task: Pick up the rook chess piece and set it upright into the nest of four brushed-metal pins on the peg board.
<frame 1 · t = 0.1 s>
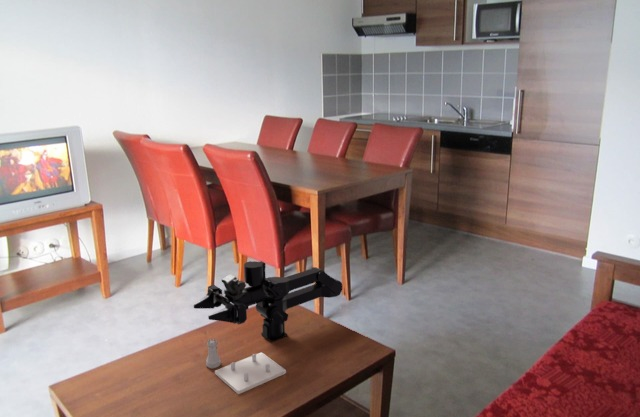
hand: (201, 312, 159), 17 cm above the table, fingers open, 9 cm apart
rook chess piece: (213, 365, 162), on the table
peg board: (250, 373, 157), on the table
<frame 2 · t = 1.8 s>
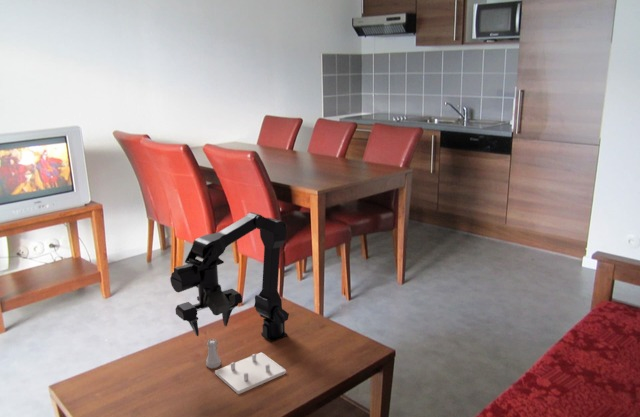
hand: (211, 330, 159), 11 cm above the table, fingers open, 9 cm apart
nothing on the table moved.
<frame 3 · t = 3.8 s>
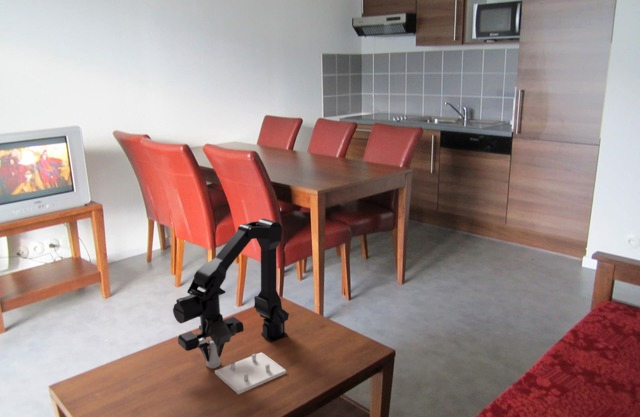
hand: (213, 358, 161), 2 cm above the table, fingers closed on rook chess piece, 3 cm apart
rook chess piece: (213, 365, 162), on the table, touching gripper
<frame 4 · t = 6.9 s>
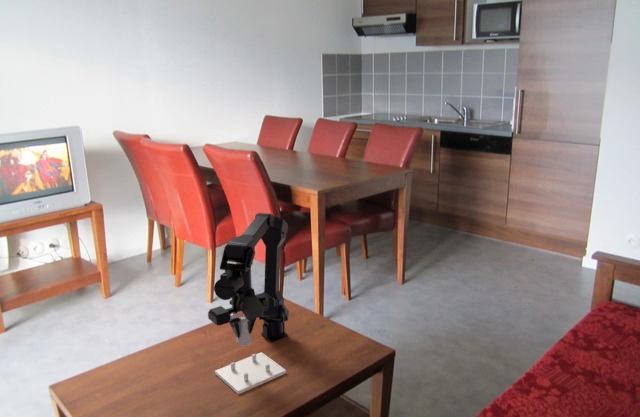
hand: (243, 335, 154), 12 cm above the table, fingers closed on rook chess piece, 3 cm apart
rook chess piece: (244, 342, 155), point 10 cm above the table, touching gripper
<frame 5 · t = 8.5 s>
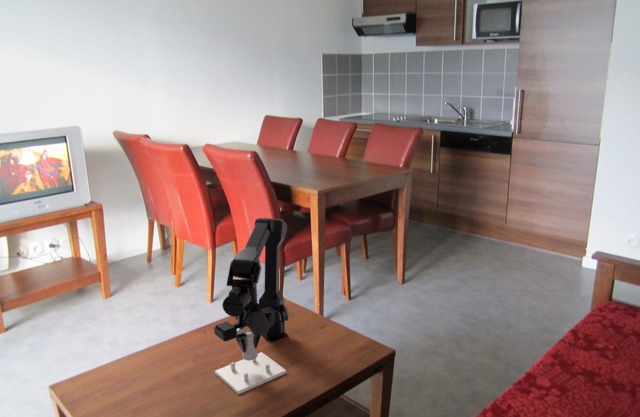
hand: (249, 349, 155), 8 cm above the table, fingers closed on rook chess piece, 3 cm apart
rook chess piece: (250, 357, 156), point 5 cm above the table, touching gripper
when the fingers open (4 cm above the table, at t = 10.0 s): rook chess piece stays where it is, resting on peg board.
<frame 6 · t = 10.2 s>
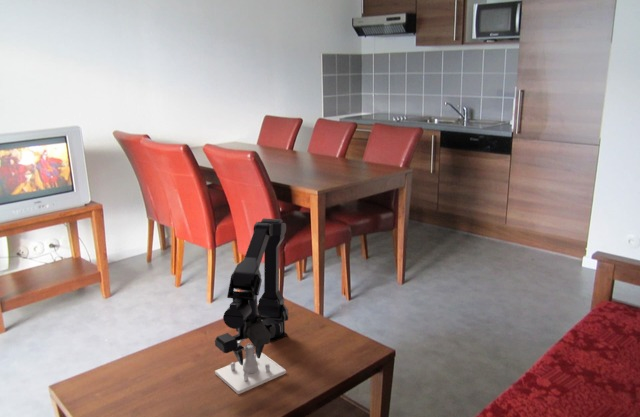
hand: (249, 361, 156), 4 cm above the table, fingers open, 5 cm apart
rook chess piece: (250, 370, 157), point 1 cm above the table, touching peg board
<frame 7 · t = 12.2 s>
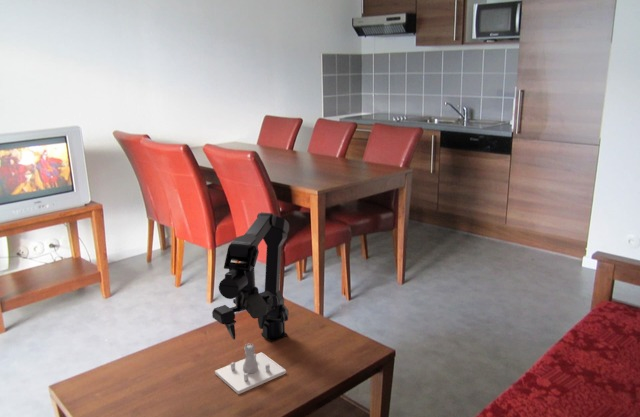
hand: (247, 333, 156), 12 cm above the table, fingers open, 9 cm apart
nothing on the table moved.
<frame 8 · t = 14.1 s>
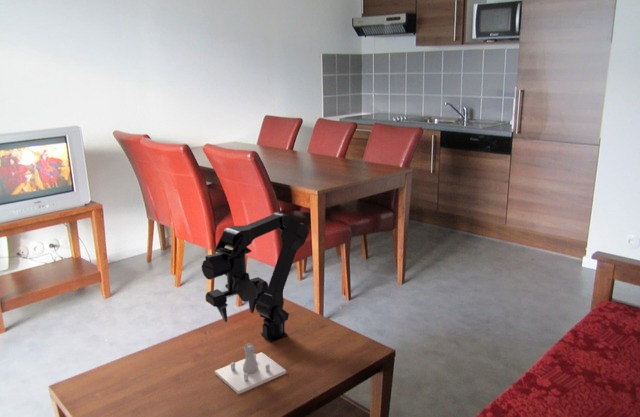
hand: (238, 317, 165), 12 cm above the table, fingers open, 9 cm apart
nothing on the table moved.
at the end: rook chess piece 0.1 cm off-centre on the peg board, point 0.8 cm above the peg board's base; rook chess piece tilted 0°; the gripper is holding nothing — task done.
